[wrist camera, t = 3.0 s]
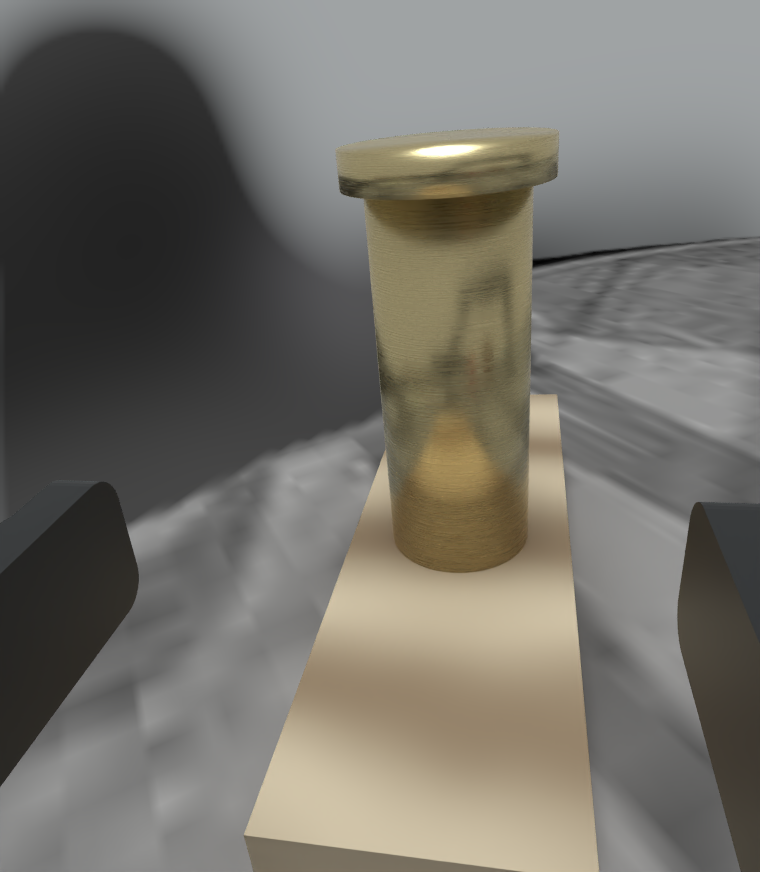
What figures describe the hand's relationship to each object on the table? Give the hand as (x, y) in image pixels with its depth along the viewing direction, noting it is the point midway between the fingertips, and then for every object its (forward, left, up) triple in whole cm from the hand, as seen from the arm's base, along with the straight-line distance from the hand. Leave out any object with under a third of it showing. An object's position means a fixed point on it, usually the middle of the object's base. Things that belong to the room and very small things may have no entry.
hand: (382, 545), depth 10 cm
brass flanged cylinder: (-9, -7, -8) cm, 14 cm away
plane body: (-9, -7, -11) cm, 16 cm away
